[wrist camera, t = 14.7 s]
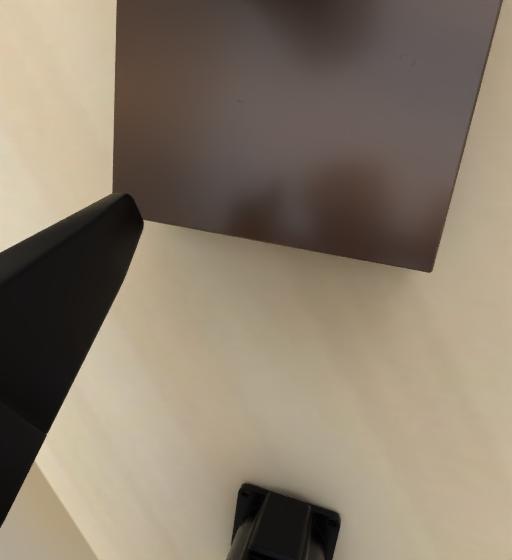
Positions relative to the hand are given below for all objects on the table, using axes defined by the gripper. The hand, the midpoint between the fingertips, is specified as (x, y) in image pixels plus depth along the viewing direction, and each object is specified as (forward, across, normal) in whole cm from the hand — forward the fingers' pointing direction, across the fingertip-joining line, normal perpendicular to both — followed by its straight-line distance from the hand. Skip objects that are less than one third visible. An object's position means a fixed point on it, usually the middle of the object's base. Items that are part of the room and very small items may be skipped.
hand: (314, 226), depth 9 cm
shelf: (+14, +4, +2) cm, 14 cm away
